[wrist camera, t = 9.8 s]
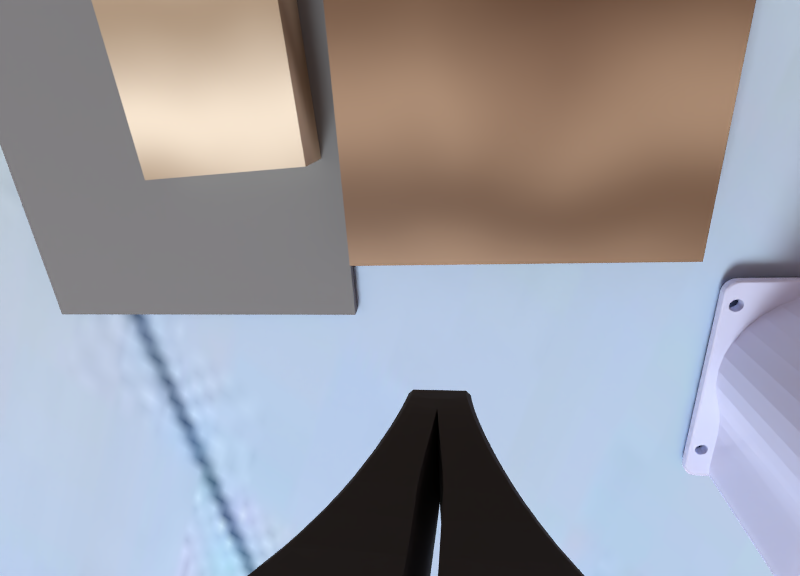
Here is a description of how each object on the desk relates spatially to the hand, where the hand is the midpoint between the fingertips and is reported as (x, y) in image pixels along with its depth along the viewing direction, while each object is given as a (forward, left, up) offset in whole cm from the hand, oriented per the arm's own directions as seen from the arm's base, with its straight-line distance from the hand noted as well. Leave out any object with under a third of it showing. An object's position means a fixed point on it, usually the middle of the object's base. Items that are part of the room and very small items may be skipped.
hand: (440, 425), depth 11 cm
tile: (+9, +8, -9) cm, 15 cm away
